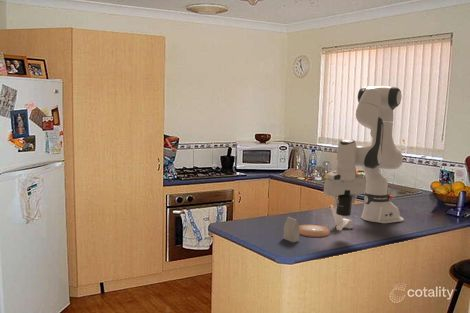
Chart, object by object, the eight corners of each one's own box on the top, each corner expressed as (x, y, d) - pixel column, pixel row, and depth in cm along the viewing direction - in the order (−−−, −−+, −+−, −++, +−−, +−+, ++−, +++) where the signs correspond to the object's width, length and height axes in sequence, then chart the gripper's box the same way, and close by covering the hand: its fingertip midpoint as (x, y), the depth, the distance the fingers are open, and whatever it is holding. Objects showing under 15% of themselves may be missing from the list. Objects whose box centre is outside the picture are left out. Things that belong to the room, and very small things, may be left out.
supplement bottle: (336, 215, 230) (338, 189, 229) (335, 212, 237) (337, 187, 236) (351, 216, 229) (353, 191, 228) (350, 213, 236) (352, 188, 235)
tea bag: (292, 242, 223) (293, 220, 222) (283, 238, 228) (284, 217, 227) (299, 241, 225) (300, 219, 224) (289, 237, 231) (290, 216, 229)
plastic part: (352, 227, 251) (354, 205, 249) (341, 230, 244) (342, 207, 242) (340, 224, 256) (341, 202, 255) (328, 227, 249) (329, 204, 248)
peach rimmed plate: (321, 226, 250) (321, 223, 250) (335, 236, 235) (335, 232, 234) (291, 228, 246) (291, 225, 246) (303, 237, 230) (303, 234, 230)
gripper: (362, 172, 236) (361, 201, 238) (322, 174, 231) (321, 203, 233) (369, 175, 230) (367, 204, 232) (328, 176, 225) (327, 206, 227)
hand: (344, 203), depth 233 cm, fingers closed on supplement bottle, 7 cm apart
